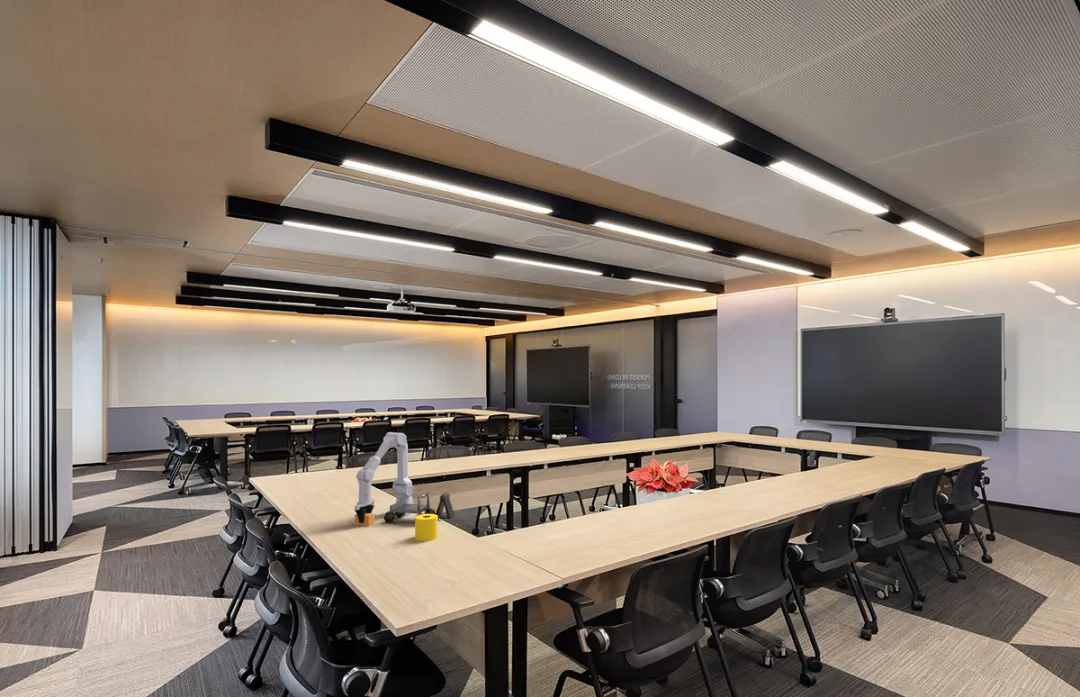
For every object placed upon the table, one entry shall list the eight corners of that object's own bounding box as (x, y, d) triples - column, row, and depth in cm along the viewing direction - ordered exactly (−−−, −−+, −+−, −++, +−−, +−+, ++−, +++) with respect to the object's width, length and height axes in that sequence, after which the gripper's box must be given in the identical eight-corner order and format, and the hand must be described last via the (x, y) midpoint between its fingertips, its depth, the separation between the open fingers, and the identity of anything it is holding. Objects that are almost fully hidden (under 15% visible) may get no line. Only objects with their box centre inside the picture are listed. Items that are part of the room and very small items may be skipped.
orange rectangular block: (360, 522, 272) (360, 512, 272) (374, 523, 270) (374, 513, 270) (354, 524, 268) (354, 514, 268) (368, 526, 265) (368, 515, 266)
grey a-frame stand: (454, 516, 284) (455, 493, 284) (450, 519, 278) (450, 495, 278) (438, 515, 286) (438, 492, 286) (434, 518, 280) (434, 494, 280)
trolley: (395, 516, 283) (396, 490, 284) (435, 519, 278) (435, 492, 278) (383, 522, 272) (384, 495, 272) (424, 525, 266) (425, 497, 267)
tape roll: (417, 542, 240) (417, 520, 240) (413, 536, 249) (413, 515, 249) (439, 539, 244) (440, 518, 244) (434, 533, 253) (434, 513, 253)
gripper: (365, 490, 278) (365, 517, 277) (349, 496, 263) (348, 524, 263) (378, 490, 276) (377, 518, 275) (361, 497, 262) (361, 525, 261)
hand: (364, 521), depth 269 cm, fingers closed on orange rectangular block, 5 cm apart
